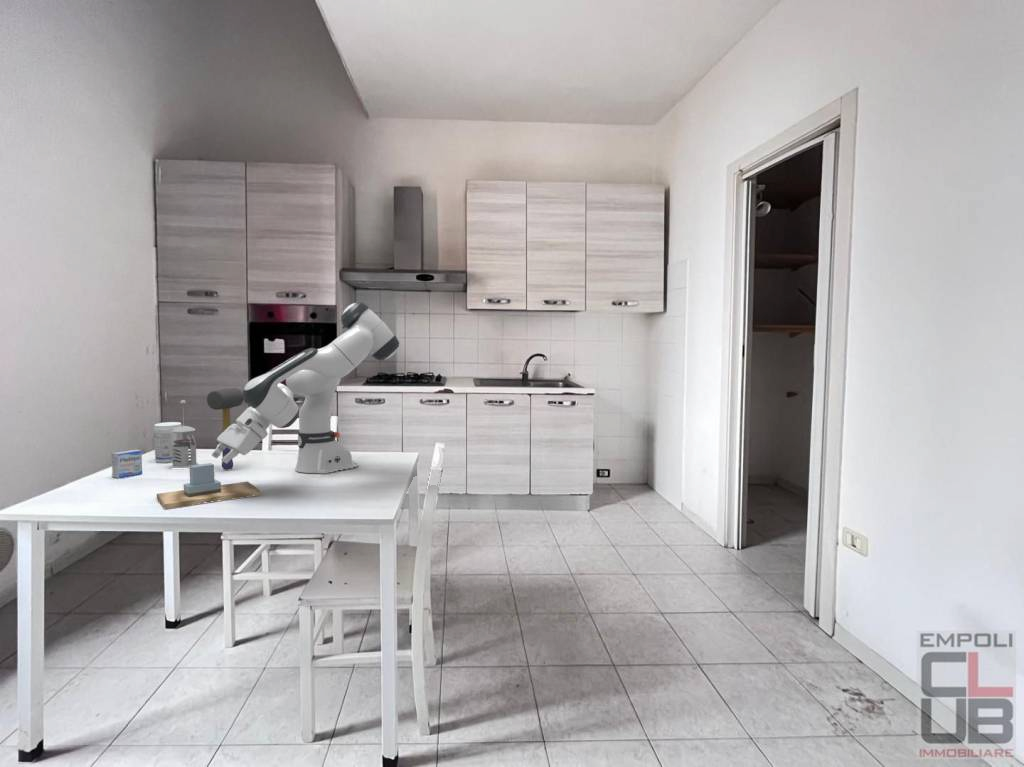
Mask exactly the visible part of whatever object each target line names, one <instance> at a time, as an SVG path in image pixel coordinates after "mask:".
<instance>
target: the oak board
mask: <svg viewBox="0 0 1024 767" xmlns="http://www.w3.org/2000/svg"><path fill="white" fill-rule="evenodd" d="M260 494H262V491H261V489H260V488H258V487H256V486H255V485H254V484H253V483H250V482H249V481H241V482H235V483H234V482H233V483H225V484H221V492H217V493H211V494H205V495H199V496H193V497H188V496H187V495H185V494H184V489H182V490H176V491H174V490H173V491H168V492H162V493H161V492H160V493H156V500H157V499H158V500H159V501H158V500H157V501H158V503H160V505H161V504H162V505H161V506H162V507H163V508H164V510H169V509H170V510H171V508H172V509H176V508H177V507H178V508H183V507H182V506H185V507H188V506H187V505H191V506H193V505H192V504H198V505H200V504H199V503H204V502H211V501H218V500H224V501H226V500H225V499H231V500H233V499H232V498H238V499H241V498H240V497H244V498H248V497H247V496H251V497H254V496H253V495H257V496H261V495H260ZM218 502H219V501H218ZM211 503H212V502H211Z"/></svg>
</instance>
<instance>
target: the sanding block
mask: <svg viewBox="0 0 1024 767" xmlns="http://www.w3.org/2000/svg"><path fill="white" fill-rule="evenodd" d="M189 467H190V469H189V482H188V483H183V490H184V494H185V495H187V496H188V497H193V496H199V495H205V494H211V493H217V492H221V485H222V482H221V481H219V480H217V479H215V464H214V463H212V462H209V463H202V464H201V463H199V465H192V466H189Z"/></svg>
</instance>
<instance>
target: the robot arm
mask: <svg viewBox="0 0 1024 767" xmlns="http://www.w3.org/2000/svg"><path fill="white" fill-rule="evenodd" d="M340 322H341V324H342V327H341V328H342V330H344V329H347V330H346V331H344V332H343V333H342V334H340V335H339V336H338V337H336V338H335V339H334V340H332V341H331V342H330V343H328V344H327V345H325V346H323V347H321V348H315V347H309V348H307V349H304V350H302V351H301V352H299V353H296V354H294V355H293V356H292V357H290V358H288V359H287V360H284V361H283V362H281V363H280V364H278V365H277V366H274V367H273V368H271V369H270V370H268V371H267V372H264V373H262V374H260V375H257V376H255V377H254V378H252V379H251V380H249V381H248V382H247V383H246V384H245V385H244V386H243V388H242V389H243V390H242V393H243V399H244V400H243V402H244V403H246V404H247V405H248V406H249V407H247V408H245V409H244V411H243V412H242V413H241V414H240V415H239V416H237V418H236V419H235V422H236V423H232V424H230V426H229V427H228V428H227V429H226V430H225V431H224V432H223V433H222V432H221V434H219V435H218V436H217V438H216V442H218V444H217V446H216V448H215V450H213V452H212V453H211V456H212V457H213V458H215V459H218V458H219V457H220V456H222V451H223V450H224V449H225V448H226V447H227V448H229V449H231V450H230V452H229V453H228V454H227V455H225V456H224V457H223V458H221V462H222V461H223V462H224V463H228V462H229V461H230V460H231V459H232V460H233V459H234V458H236V457H238V455H239V454H240V455H242V456H246V455H247V454H249V453H250V452H251V451H252V450H253V449H254V448H255V447H256V446H257V445H258V444H259V443H260V442H261V441H262V439H263V440H264V439H265V438H266V437H268V431H267V429H268V428H269V427H270V425H271V424H272V426H274V427H276V428H277V429H285V428H289V427H290V426H292V425H293V424H294V423H296V421H297V420H298V432H297V446H298V455H297V461H296V464H295V471H296V472H298V473H304V474H306V473H307V474H308V473H309V474H329V472H330V473H335V472H334V471H336V472H339V471H338V470H341V471H344V470H343V469H346V470H349V469H348V468H351V469H354V468H353V467H356V468H358V467H359V464H358V462H357V461H355V460H353V459H352V453H351V451H350V449H349V448H347V447H346V446H344V445H343V444H341V443H340V442H339V441H337V440H336V438H337V439H338V438H339V439H340V437H341V433H340V431H339V432H338V431H333V430H331V428H332V427H331V422H332V420H331V419H332V417H331V416H332V415H331V414H332V406H333V401H334V397H335V394H336V391H337V390H336V389H338V386H339V385H340V383H341V378H344V377H345V376H347V375H348V374H350V373H351V372H352V371H353V370H355V368H357V367H358V366H359V365H360V364H361V363H362V362H363V361H364V360H365V359H366V358H367V356H369V354H371V357H373V358H374V359H375V360H377V361H385V360H388V359H390V358H392V357H393V356H394V355H395V354H396V352H397V350H398V348H399V347H400V341H399V339H398V337H397V336H396V335H394V333H393V332H392V330H391V329H390V328H389V326H388V325H387V323H385V321H383V320H382V319H381V318H380V316H378V315H377V314H376V313H375V312H374V311H373V310H372V309H370V307H369V305H367V304H366V303H364V302H362V301H357V302H354V303H350V304H349V305H348V306H347V307H346V308H345V309H344V311H342V314H341V315H340ZM283 381H285V384H286V385H285V384H283V383H282V382H283ZM295 395H297V396H304V397H305V398H304V402H303V404H302V406H301V407H299V405H298V404H297V402H296V401H295V399H294V397H295ZM357 466H358V467H357Z"/></svg>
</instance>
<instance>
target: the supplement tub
mask: <svg viewBox="0 0 1024 767" xmlns="http://www.w3.org/2000/svg"><path fill="white" fill-rule="evenodd" d="M182 424H183V423H181V422H179V421H169V422H168V421H166V422H159V423H155V424H154V426H153V437H154V438H153V439H154V453H155V454H154V455H155V457H154V458H155V462H157V463H158V462H159V463H158V464H170V463H169V462H175V461H173V451H172V446H173V445H175V444H176V443H174V441H176V440H184V435H183V433H172V432H171V431H172V430H173V429H175V428H177V427H180V426H183V425H182ZM174 451H175V450H174ZM174 455H175V454H174ZM174 458H175V457H174ZM167 462H168V463H167Z"/></svg>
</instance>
